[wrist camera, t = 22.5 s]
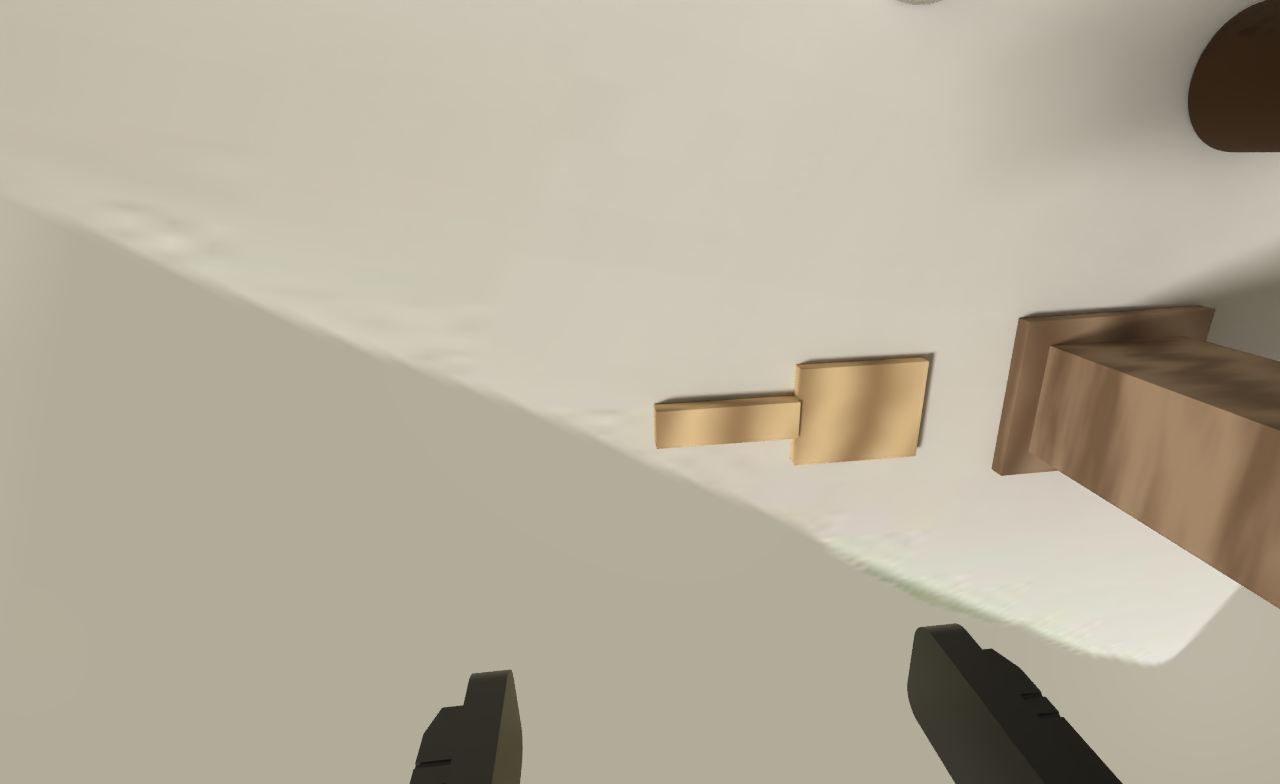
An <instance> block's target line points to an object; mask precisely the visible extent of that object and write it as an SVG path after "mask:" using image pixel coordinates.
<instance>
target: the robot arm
mask: <svg viewBox="0 0 1280 784" xmlns="http://www.w3.org/2000/svg"><path fill="white" fill-rule="evenodd" d="M899 1H901V2H906V3H910V4H931V3H934V2H938V1H941V0H899ZM907 691H908V698H909V701H910V705H911V708H912V711H913V714H914V716H915V718H916V720H917V721H918V723H919V724H920V726H921V728H922V730H923V731H924V733H925V734H926V736H927V738H928V739H929V741H930V743H931V744H932V746H933V748H934V749H935V751H936V752H937V754H938V756H939V757H940V759H941V761H942V762H943V764H944V765H945V767H946V769H947V770H948V772H949V774H950V775H951V777H952V779H953V780H954V782H955V784H1122V783H1121V782H1120V780H1119V779H1118V778H1117V777H1116V776H1115V775H1114V774H1113V772H1112V771H1111V770H1110V769H1109V768H1108V767H1107V766H1106V765H1105V763H1103V761H1102V760H1101V759H1100V758H1099V757H1098V756H1097V754H1096V753H1095V752H1094V751H1093V750H1092V749H1091V748H1090V747H1089V745H1088V744H1087V743H1086V742H1085V741H1084V740H1083V739H1082V737H1081V736H1080V735H1079V734H1078V733H1077V732H1076V731H1075V730H1074V728H1073V727H1072V726H1071V725H1070V724H1069V723H1068V722H1067V721H1066V720H1065V718H1064V717H1060V715H1059V712H1058V710H1057V709H1056V708H1055V707H1054V706H1053V705H1052V704H1051V702H1050V701H1049V700H1048V699H1047V698H1046V697H1043V696H1042V694H1041V691H1040V690H1039V689H1038V688H1037V687H1036V686H1035V684H1034V683H1033V682H1032V681H1031V680H1030V679H1029V678H1028V676H1027V675H1026V674H1025V673H1024V672H1023V671H1022V670H1021V669H1020V668H1019V667H1018V666H1016V665H1015V664H1013V663H1012V662H1010V661H1009V660H1008V659H1006V658H1005V657H1003V656H1002V655H1000V654H999V653H997V652H996V651H994V650H993V649H983V650H982V649H981V648H980V646H979V645H978V644H977V643H976V642H975V640H974V639H973V638H972V637H971V636H970V634H969V633H968V632H967V631H966V630H965V629H964V628H963V627H962V626H961V625H959V624H946V625H936V626H927V627H919V628H918V629H917V630H916V632H915V636H914V643H913V649H912V656H911V663H910V670H909V676H908V684H907ZM415 764H416V767H415V769H414V770H413V774H412V777H411V781H410V784H520V777H521V767H522V729H521V723H520V716H519V709H518V703H517V697H516V690H515V684H514V678H513V673H512V670H503V671H494V672H484V673H475V674H472V675H471V677H470V679H469V683H468V687H467V692H466V697H465V701H464V705H463V706H455V707H445V708H442V709H441V710H440V712H439V713H438V714H437V716H436V717H435V719H434V720H433V721H432V723H431V724H430V726H429V727H428V729H427V730H426V731H425V733H424V735H423V738H422V742H421V745H420V749H419V753H418V756H417V759H416V763H415Z"/></svg>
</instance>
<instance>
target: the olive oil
mask: <svg viewBox="0 0 1280 784" xmlns="http://www.w3.org/2000/svg"><path fill="white" fill-rule="evenodd" d="M1188 109H1189V116H1190V120H1191V123H1192V126H1193V128H1194V130H1195V132H1196V134H1197V135H1198V136H1199V138H1200V139H1201V140H1202V141H1203V142H1204V143H1206V144H1207V145H1208V146H1210V147H1212V148H1214V149H1217V150H1220V151H1226V152H1280V0H1267V1H1264V2H1261V3H1258V4H1256V5H1253V6H1251V7H1249V8H1247V9H1245V10H1243V11H1242V12H1240V13H1239V14H1237V15H1236V16H1234V17H1233V18H1232V19H1231V20H1229V21H1228V22H1227V23H1226V24H1225V25H1224V26H1223V27H1222V28H1221V29H1220V30H1219V31H1218V32H1217V33H1216V35H1215V36H1214V37H1213V38H1212V40H1211V41H1210V42H1209V44H1208V45H1207V47H1206V48H1205V50H1204V52H1203V53H1202V55H1201V57H1200V59H1199V61H1198V63H1197V65H1196V68H1195V70H1194V73H1193V76H1192V79H1191V83H1190V88H1189V96H1188Z"/></svg>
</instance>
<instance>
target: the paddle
mask: <svg viewBox="0 0 1280 784" xmlns="http://www.w3.org/2000/svg"><path fill="white" fill-rule="evenodd" d="M928 366H929V361H928V360H926V359H924V358H922V357H918V358H901V359H884V360H867V361H851V362H834V363H817V364H801V365H796V370H795V386H794V395H792V396H776V397H761V398H746V399H732V400H717V401H702V402H687V403H673V404H658V405H654V437H655V443H656V447H657V449H661V448H675V447H688V446H702V445H715V444H729V443H742V442H756V441H769V440H783V439H791V450H790V459H791V461H792V462H793V463H794V465H807V464H819V463H832V462H845V461H858V460H871V459H883V458H896V457H909V456H915V455H916V449H917V442H918V435H919V428H920V421H921V414H922V407H923V401H924V394H925V387H926V380H927V373H928Z"/></svg>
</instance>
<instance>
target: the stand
mask: <svg viewBox="0 0 1280 784" xmlns="http://www.w3.org/2000/svg"><path fill="white" fill-rule="evenodd" d="M1214 312H1215V309H1213V308H1209V307H1204V306H1189V307H1174V308H1160V309H1146V310H1132V311H1118V312H1103V313H1089V314H1075V315H1061V316H1047V317H1032V318H1019V321H1018V327H1017V332H1016V338H1015V343H1014V349H1013V354H1012V360H1011V365H1010V371H1009V376H1008V382H1007V388H1006V393H1005V399H1004V404H1003V410H1002V415H1001V421H1000V426H999V432H998V437H997V443H996V448H995V454H994V459H993V465H992V469H993V470H994V471H995V472H997V473H998V474H1000V475H1001V476H1003V475H1014V474H1025V473H1036V472H1048V471H1060V472H1061V473H1063V474H1065V475H1066V476H1068V477H1069V478H1071V479H1073V480H1074V481H1076V482H1077V483H1079V484H1081V485H1082V486H1084V487H1086V488H1087V489H1089V490H1090V491H1092V492H1094V493H1095V494H1097V495H1098V496H1100V497H1102V498H1103V499H1105V500H1106V501H1108V502H1110V503H1111V504H1113V505H1114V506H1116V507H1118V508H1119V509H1121V510H1122V511H1124V512H1126V513H1127V514H1129V515H1130V516H1132V517H1134V518H1135V519H1137V520H1138V521H1140V522H1142V523H1143V524H1145V525H1146V526H1148V527H1150V528H1151V529H1153V530H1154V531H1156V532H1158V533H1159V534H1161V535H1162V536H1164V537H1166V538H1167V539H1169V540H1170V541H1172V542H1174V543H1175V544H1177V545H1178V546H1180V547H1182V548H1183V549H1185V550H1186V551H1188V552H1190V553H1191V554H1193V555H1194V556H1196V557H1198V558H1199V559H1201V560H1202V561H1204V562H1206V563H1207V564H1209V565H1210V566H1212V567H1214V568H1215V569H1217V570H1218V571H1220V572H1222V573H1223V574H1225V575H1226V576H1228V577H1230V578H1231V579H1233V580H1234V581H1236V582H1238V583H1239V584H1241V585H1242V586H1244V587H1246V588H1247V589H1249V590H1250V591H1252V592H1254V593H1255V594H1257V595H1258V596H1260V597H1262V598H1263V599H1265V600H1266V601H1268V602H1270V603H1271V604H1273V605H1274V606H1276V607H1278V608H1279V609H1280V362H1278V361H1274V360H1271V359H1267V358H1263V357H1260V356H1256V355H1252V354H1249V353H1245V352H1241V351H1238V350H1234V349H1230V348H1226V347H1223V346H1219V345H1215V344H1212V343H1208V342H1206V339H1207V335H1208V332H1209V329H1210V325H1211V322H1212V319H1213V315H1214Z"/></svg>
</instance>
